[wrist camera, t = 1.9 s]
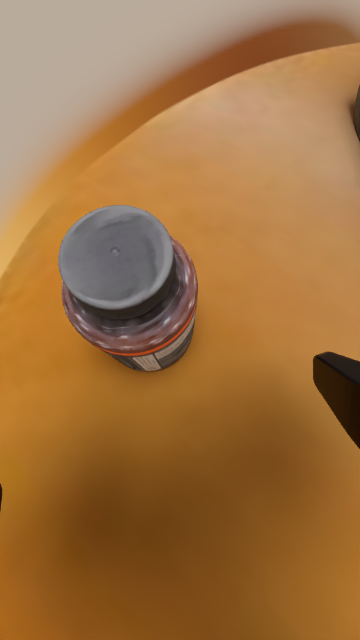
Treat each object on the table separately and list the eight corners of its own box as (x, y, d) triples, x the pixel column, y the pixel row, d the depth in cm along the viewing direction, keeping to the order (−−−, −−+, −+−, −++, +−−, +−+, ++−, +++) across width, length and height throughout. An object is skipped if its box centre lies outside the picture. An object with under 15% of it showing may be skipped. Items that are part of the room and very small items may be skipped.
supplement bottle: (93, 321, 21) (-4, 232, 10) (162, 276, 22) (139, 151, 11) (138, 391, 20) (80, 374, 9) (210, 341, 21) (238, 268, 10)
